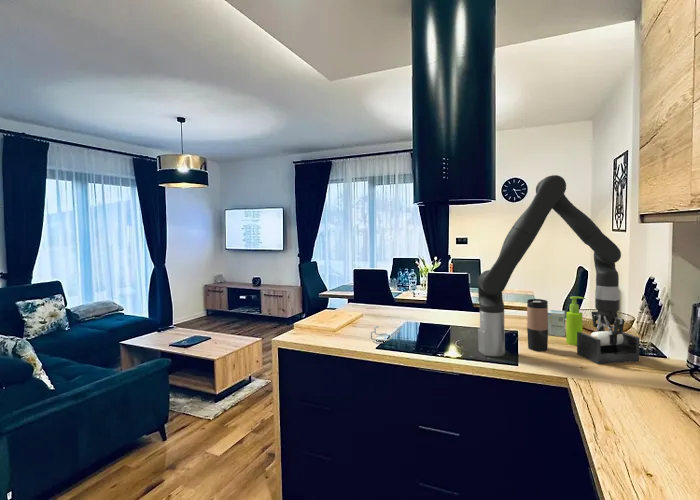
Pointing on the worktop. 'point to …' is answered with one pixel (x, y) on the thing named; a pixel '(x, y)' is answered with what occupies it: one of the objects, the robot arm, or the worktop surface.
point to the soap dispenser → (573, 321)
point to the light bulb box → (556, 323)
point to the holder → (608, 349)
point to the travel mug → (537, 324)
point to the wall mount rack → (383, 335)
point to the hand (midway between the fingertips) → (607, 341)
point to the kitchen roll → (606, 337)
